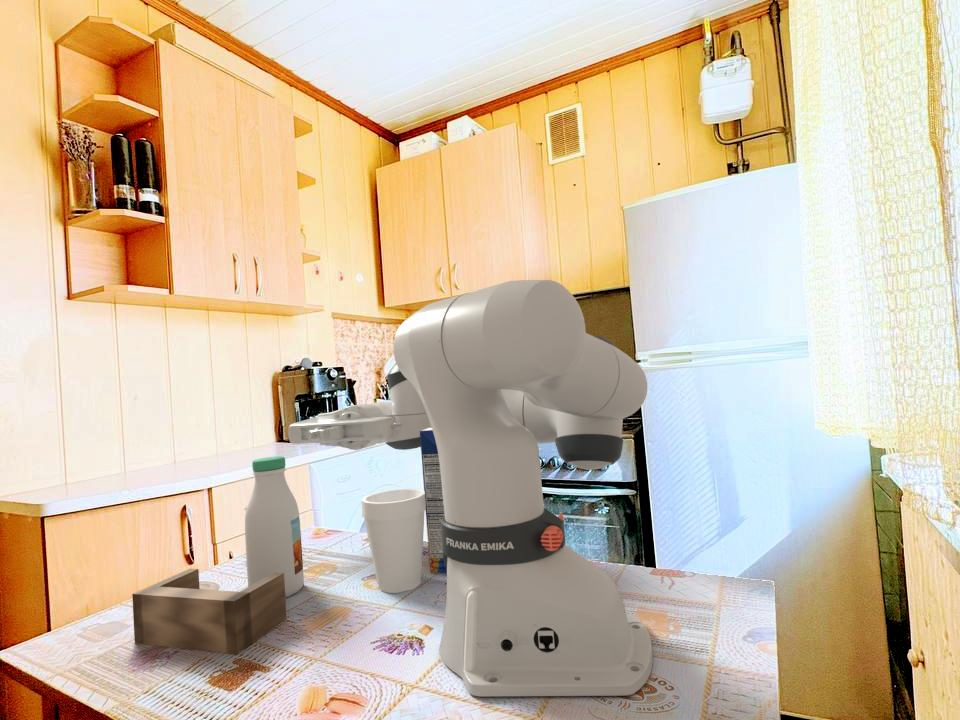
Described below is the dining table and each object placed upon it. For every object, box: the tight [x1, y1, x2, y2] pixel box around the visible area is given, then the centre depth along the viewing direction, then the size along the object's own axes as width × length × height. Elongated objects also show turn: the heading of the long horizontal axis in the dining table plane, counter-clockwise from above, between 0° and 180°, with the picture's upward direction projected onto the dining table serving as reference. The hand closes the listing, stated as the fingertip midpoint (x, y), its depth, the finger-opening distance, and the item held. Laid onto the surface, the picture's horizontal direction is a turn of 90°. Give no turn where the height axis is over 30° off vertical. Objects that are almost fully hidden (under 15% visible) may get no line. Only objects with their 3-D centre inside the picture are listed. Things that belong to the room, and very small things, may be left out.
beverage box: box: [420, 427, 447, 574], centre depth 82 cm, size 7×11×22 cm, turn 166°
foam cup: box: [361, 488, 426, 594], centre depth 74 cm, size 10×9×13 cm
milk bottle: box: [244, 455, 305, 598], centre depth 75 cm, size 8×8×20 cm
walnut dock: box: [131, 568, 288, 655], centre depth 64 cm, size 16×8×6 cm, turn 72°
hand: (315, 435), depth 87 cm, fingers closed
